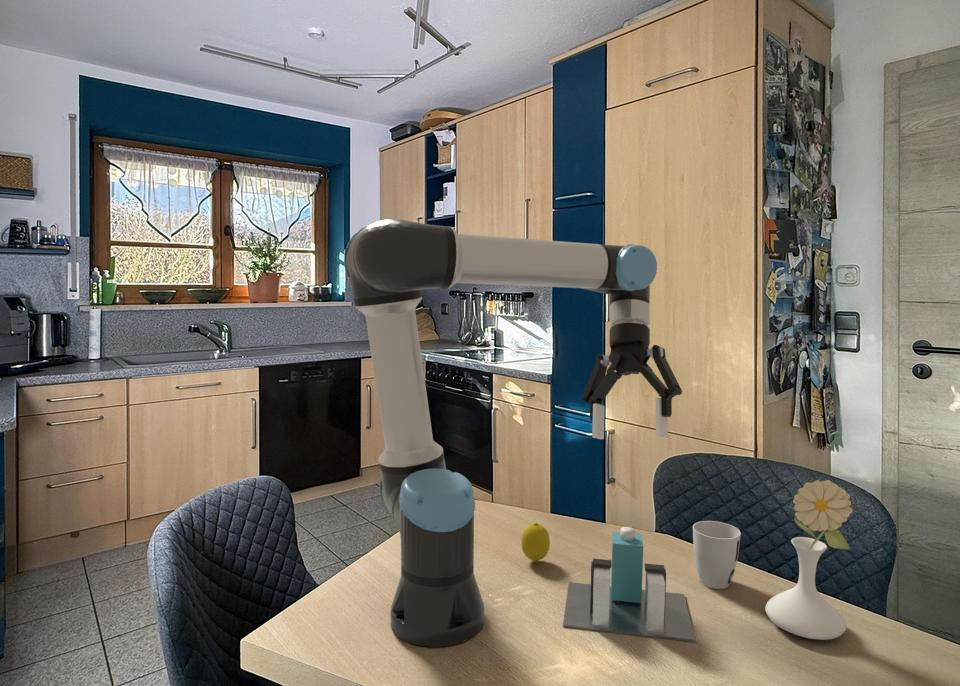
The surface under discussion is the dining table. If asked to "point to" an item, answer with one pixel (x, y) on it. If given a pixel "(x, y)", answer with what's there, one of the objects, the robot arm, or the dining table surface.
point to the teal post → (627, 566)
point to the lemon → (535, 542)
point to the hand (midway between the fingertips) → (628, 437)
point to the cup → (715, 552)
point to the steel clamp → (628, 606)
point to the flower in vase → (813, 564)
